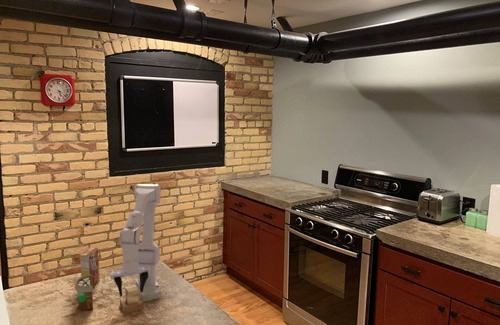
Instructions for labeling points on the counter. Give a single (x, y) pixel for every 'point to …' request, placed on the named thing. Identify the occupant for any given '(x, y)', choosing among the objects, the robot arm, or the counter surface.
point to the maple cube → (132, 294)
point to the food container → (85, 292)
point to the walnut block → (130, 305)
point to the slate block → (149, 293)
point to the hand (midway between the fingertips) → (131, 293)
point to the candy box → (90, 264)
